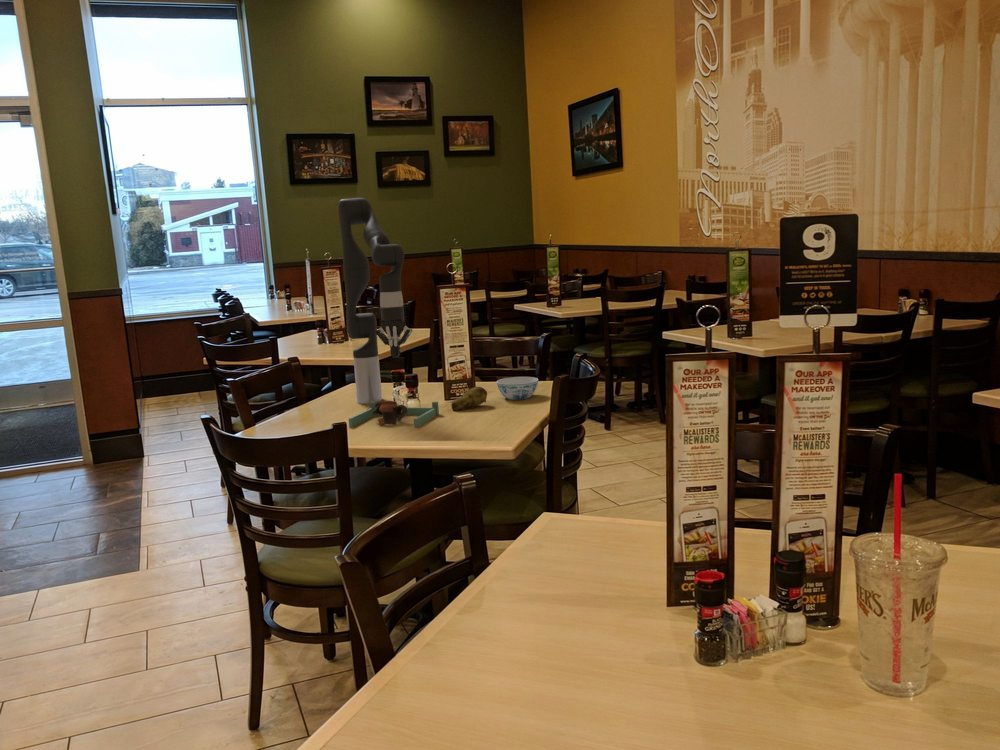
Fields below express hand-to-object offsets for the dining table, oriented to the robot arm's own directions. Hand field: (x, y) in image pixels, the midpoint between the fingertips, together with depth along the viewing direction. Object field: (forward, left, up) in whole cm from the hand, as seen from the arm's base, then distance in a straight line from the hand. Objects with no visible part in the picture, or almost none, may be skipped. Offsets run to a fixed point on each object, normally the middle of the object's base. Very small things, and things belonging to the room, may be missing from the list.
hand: (395, 357), depth 279 cm
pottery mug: (+8, +1, -22) cm, 24 cm away
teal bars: (+5, 0, -21) cm, 21 cm away
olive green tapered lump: (-14, +20, -21) cm, 32 cm away
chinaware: (-30, +33, -21) cm, 49 cm away
